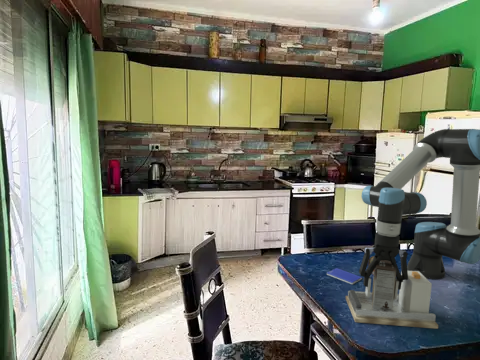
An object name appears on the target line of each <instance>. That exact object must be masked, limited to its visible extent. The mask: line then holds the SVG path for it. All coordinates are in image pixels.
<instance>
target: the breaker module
mask: <svg viewBox="0 0 480 360" xmlns="http://www.w3.org/2000/svg"><path fill="white" fill-rule="evenodd" d="M407 271H408V270H407ZM400 274H401V275H402V271H401V272H400ZM432 285H433V284H432V282H430V281H429V279H428V278H425V277H424V276H423V275H422V274H421V273H420V272H419V271H408V280H403V282H402V283H401V289H400V290H398V294H399V301H398V302H399V303H400V305H401V306H402V307H403V309H404V310H405V311H407V312H420V313H430V303H431V294H432Z"/></svg>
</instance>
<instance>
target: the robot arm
mask: <svg viewBox="0 0 480 360" xmlns="http://www.w3.org/2000/svg"><path fill="white" fill-rule="evenodd" d="M439 158H440V159H441V158H445V159H447V158H448V159H449V164H450V165H451V167H453V176H452V178H453V179H452V195H451V196H452V197H451V213H450V224H448V225H446V224H445V223H443V222H438V221H437V222H435V221H434V222H433V221H422V222H418V223H417V224H416V225H415V229H414V239H413V247H412V255H411V256H410V258H409V260H407V258H408V252H407V250H405V249H399V245H400V236H399V235H401V228H402V218H403V216H408V215H417V214H419V213H420V214H421V213H422V212H424V211H425V210H426V208H427V205H428V203H427V199H426V197H425V195H424V194H422V193H420V192H418V191H416V192H415V191H410V192H408V191H405V190H404V189H403V188H404V187H405V185H407V184H408V183H409V182H410V181H411V180H412V179H413V178H414V177H416V175H417V174H418V173H419V172H420V171H421V170H422V169H423V168H424V167H425V166H427V164H429V163H432V162H435V160H436V159H439ZM479 187H480V129H477V128H455V129H453V128H444V129H439V130H436V131H434V132H432V133H429V134H428V135H426V136H425V137H423V138H422V139H420V140H419V141H418V142H417V143H416V144H415V145H414V146H413V147H412V151H411V152H410V153H409V154H407V156H406V157H404V158H403V159H402V160H401V161H400V162H399V163H398V164H397V165H395V167H394V168H393V169H392V170H391V171H389V173H387V174H386V175H385V176H384V177H383V178H382V179H381V180H380V181H379V182H377V184H375V185H367V186H365V187H364V188H363V190H362V191H361V199H362V202H363V203H364V204H366V205H368V206H371V207H375V208H376V207H377V208H378V209H377V211H378V212H377V218H376V227H375V231H376V232H375V237H374V244H373V247H367V246H365V247H364V248H363V249H364V250H363V251H364V254H363V257H362V260H361V264H360V267H359V269H358V273H359V275H360V277H362V278H363V286H364V287H365V290H364V292H365V294H366V296H367V297H369V296H370V292H371V284H372V278H371V275H373V274H372V272H373V271H374V269H375V267H376V265H377V264H378V263H379V262H380V261H381V260H387V261H390V262H391V263H392V265H393V266H395V267H396V278H395V288H394V297H393V298H394V299H395V300H397V294H399V291H400V289H401V283H402V282H403V280H408V271H419V272H420V273H421V274H422V275H423V276H424V277H425V278H426V279H427V280H441V279H444V278H446V269H445V265H444V260H443V257H445V258H449V259H452V260H455V261H458V262H460V263H465V264H468V265H474V264H477V263H478V262H479V261H480V229H479V228H478V227H477V217H478V214H477V213H478V205H479V204H478V202H479V201H478V200H479V189H480V188H479ZM373 253H374V254H375V255H373V256H374V257H373V260H372V262H371V263H370V265H369V266H368V262H369V259H370V258H371V255H372V254H373ZM398 255H399V258H400V269H401V271H402V275H401V272H400V269H399V267H398V264H397V260H396V257H397V256H398ZM407 261H408V263H407Z"/></svg>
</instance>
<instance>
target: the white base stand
mask: <svg viewBox="0 0 480 360" xmlns="http://www.w3.org/2000/svg"><path fill="white" fill-rule="evenodd" d="M372 292H373V291H372ZM372 292H371V291H370V296H369V297H367V296H366V294H365V291H356V290H355V289H349V290H348V291H347V296H348V299H349V301H350V304H351V306H352V308H353V311H354V313H355V315H356V317H366V318H378V319H391V320H404V321H417V322H429V323H435V322H436V318H437V317H436V314H435V313H431V312H429V313H420V312H407V311H405V310H404V309H403V307H402V306H401V305H400V303H399V302H398V301H399V293H397V300H395V299H394V298H393V308H392V310H380V309H372Z"/></svg>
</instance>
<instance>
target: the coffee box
mask: <svg viewBox="0 0 480 360" xmlns="http://www.w3.org/2000/svg"><path fill="white" fill-rule="evenodd" d="M395 278H396V279H397V277H396V267H395V266H393V265H392V263H391V262H390V261H387V260H381V261H380V262H379V263H378V264H377V265H376V267H375V269H374V275H373V280H372V281H373V282H372V309H380V310H392V308H393V297H394V288H395Z"/></svg>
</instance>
